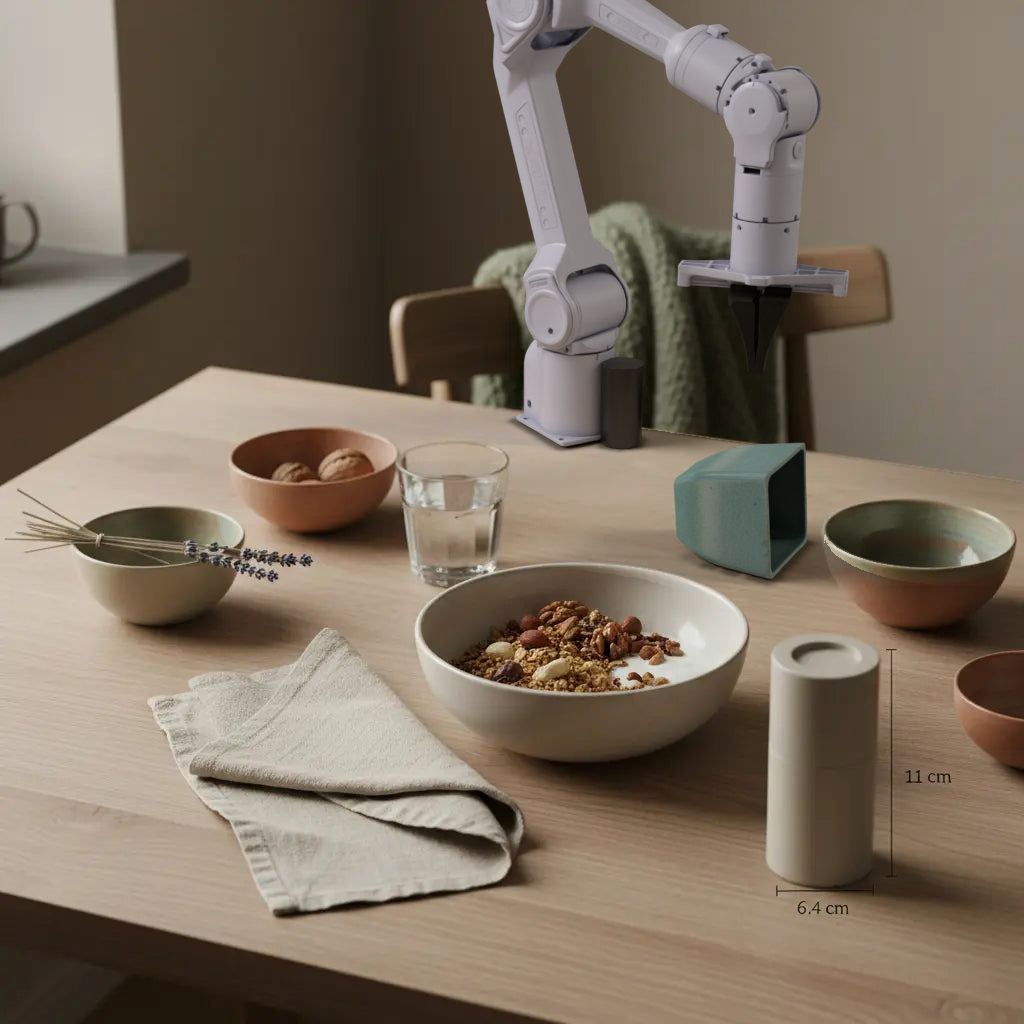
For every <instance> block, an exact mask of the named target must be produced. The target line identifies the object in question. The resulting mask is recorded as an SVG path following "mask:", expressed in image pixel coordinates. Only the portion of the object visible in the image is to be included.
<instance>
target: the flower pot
mask: <svg viewBox="0 0 1024 1024" xmlns="http://www.w3.org/2000/svg"><path fill="white" fill-rule="evenodd" d="M807 490H808V489H807V449H806V443H805V442H790V443H789V442H787V443H759V444H748V445H747V444H745V445H740V446H736V447H732V448H728V449H725V450H724V449H723V450H721V451H718V452H715V453H713V454H711V455H709V456H707V457H704V458H702V459H700V460H698V461H697V462H695V463H693V465H691V466H690V467H688V469H686V470H684V471H683V472H682V473H681V474H680V475H678V476H677V477H675V479H674V481H673V501H674V517H675V518H674V519H675V520H674V521H675V535H676V538H677V539H678V540H679V541H680V542H681V543H682V544H683V545H684V546H685V547H687V549H689V550H690V551H691V552H692V553H694V554H695V555H697V556H698V557H700V558H701V559H703V560H705V561H707V562H709V563H712V564H714V565H716V566H719V567H722V568H726V569H730V570H732V571H737V572H741V573H745V574H749V575H751V576H756V577H760V578H763V579H768V580H772V579H773V578H775V577H776V576H777V574H779V573H780V572H781V570H782V569H783V568H784V566H786V564H788V562H790V560H792V558H793V557H795V555H796V554H797V553H798V552H799V551H800V550H801V549H802V548H803V547H804V546H805V545H806V543H807V541H808V500H807V499H808V496H807V495H808V493H807Z"/></svg>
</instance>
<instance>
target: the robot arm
mask: <svg viewBox="0 0 1024 1024" xmlns="http://www.w3.org/2000/svg"><path fill="white" fill-rule="evenodd" d="M486 6H487V11H488V14H489V19H490V22H491V23H490V24H491V27H492V32H493V54H492V55H493V56H492V57H493V58H492V64H493V72H494V77H495V82H496V85H497V89H498V94H499V98H500V103H501V105H502V110H503V115H504V118H505V123H506V127H507V131H508V135H509V139H510V143H511V148H512V151H513V155H514V160H515V165H516V168H517V172H518V176H519V181H520V185H521V190H522V193H523V197H524V201H525V206H526V209H527V213H528V219H529V223H530V227H531V231H532V234H533V238H534V239H533V240H534V244H535V248H536V250H537V251H536V253H535V255H534V257H533V259H532V260H531V262H530V264H529V266H528V267H527V269H526V270H525V272H524V274H523V277H522V280H523V284H524V290H525V304H524V319H525V324H526V326H527V330H528V331H529V333H530V335H531V336H532V338H533V341H532V342H531V343H530V344H529V346H528V348H527V350H526V353H525V355H524V361H523V413H519V414H516V416H515V417H516V418H515V419H516V421H518V422H519V423H521V424H523V425H525V426H526V427H528V428H530V429H532V431H533V430H534V431H535V432H537V433H538V434H540V435H541V436H543V437H545V438H546V439H549V440H550V441H552V442H554V443H555V444H557V445H559V446H560V447H569V446H575V445H579V444H585V443H590V442H595V441H600V428H601V381H602V362H603V361H605V360H608V359H610V358H614V357H616V356H615V355H616V353H615V352H616V351H615V350H616V345H615V344H616V341H617V340H618V339H619V329H620V328H621V327H622V326H624V325H625V324H626V322H627V321H628V319H629V317H630V315H631V311H632V295H631V291H630V288H629V286H628V284H627V282H626V280H625V279H624V278H623V276H622V274H620V271H619V269H618V267H617V265H616V260H615V256H614V253H613V252H612V251H611V250H610V249H608V248H607V247H605V245H603V244H601V242H599V241H598V240H596V238H595V237H594V235H593V231H592V226H591V222H590V218H589V214H588V210H587V206H586V201H585V196H584V192H583V189H582V184H581V180H580V176H579V170H578V166H577V162H576V158H575V153H574V151H573V145H572V141H571V136H570V132H569V127H568V124H567V120H566V115H565V112H564V107H563V102H562V99H561V94H560V90H559V85H558V81H557V78H556V77H557V76H556V74H557V70H558V69H559V67H560V65H561V64H562V62H563V60H564V59H565V57H566V55H567V54H568V53H569V52H570V50H572V49H573V47H575V46H576V45H577V44H578V43H579V42H580V41H581V40H582V39H583V38H584V37H585V36H586V35H587V34H588V33H589V32H590V31H591V30H592V29H593V28H594V27H596V28H598V29H600V30H602V31H603V32H606V33H608V34H609V35H611V36H613V37H615V38H616V39H619V40H620V41H622V42H624V43H626V44H628V45H629V46H631V47H633V48H635V49H637V51H640V52H642V53H644V54H646V55H647V56H649V57H651V58H653V59H655V60H656V61H658V62H660V63H662V64H664V65H665V74H666V78H667V80H668V81H667V82H668V83H669V84H670V85H671V86H672V87H673V88H675V89H677V90H678V91H680V92H682V93H683V94H685V95H686V96H688V97H690V98H691V99H693V100H694V101H696V102H697V103H699V104H700V105H702V106H703V107H705V108H706V109H708V110H710V111H711V112H713V113H715V114H716V115H718V116H719V117H721V118H722V119H724V123H725V126H726V129H727V131H728V133H729V134H730V136H731V138H732V141H733V158H735V164H734V165H735V166H734V167H735V169H734V183H733V184H734V185H733V203H732V217H731V219H732V222H731V238H730V239H731V240H730V254H729V255H730V258H729V259H713V260H712V259H711V260H710V259H709V260H703V259H701V260H696V259H695V260H693V259H682V260H681V261H680V262H679V263H678V266H677V287H683V288H689V287H691V286H699V287H713V288H714V287H715V288H729V294H728V297H727V302H728V305H729V309H730V310H731V312H732V315H733V317H734V319H735V322H736V324H737V327H738V330H739V332H740V336H741V339H742V343H743V347H744V352H745V358H746V366H747V370H746V371H747V373H758V374H763V373H764V372H765V370H766V367H767V363H768V355H769V351H770V348H771V344H772V343H773V339H774V336H775V333H776V331H777V328H778V326H779V324H780V322H781V319H782V318H783V315H784V314H785V312H786V310H787V309H788V307H789V304H790V303H791V300H792V298H793V296H794V294H795V293H806V294H821V295H822V294H823V295H832V296H833V297H836V298H846V297H847V295H848V289H849V278H850V270H849V269H838V268H829V267H822V266H817V265H816V266H815V265H811V264H810V265H809V264H802V263H798V254H799V240H800V239H799V237H800V228H801V227H800V225H801V214H802V213H801V212H802V200H803V185H804V171H805V155H806V141H807V133H809V132H810V131H811V130H812V129H813V128H814V127H815V125H816V123H817V122H818V120H819V118H820V115H821V111H822V97H821V93H820V92H821V91H820V89H819V87H818V85H817V84H816V82H815V80H814V79H813V78H812V77H811V76H810V75H809V74H807V73H806V72H805V70H804V69H803V68H802V67H800V66H793V65H789V66H783V67H782V66H781V67H780V68H775V66H774V65H773V64H772V61H773V60H772V57H771V56H769V55H767V54H765V53H764V52H763V53H757V54H756V53H754V52H752V51H751V50H749V49H748V48H746V47H745V46H743V45H742V44H740V43H738V42H736V41H734V40H733V39H731V38H729V34H730V29H729V28H727V27H725V26H724V25H722V24H720V23H715V24H710V25H708V24H703V23H702V24H697V25H694V26H692V27H689V28H688V29H687V28H685V27H684V26H683V25H681V24H680V23H678V22H677V21H676V20H674V19H673V18H671V17H670V16H669V15H667V14H666V13H664V12H662V11H661V10H660V9H659V8H657V7H656V6H654V5H653V4H651V3H650V2H648V1H647V0H486ZM573 273H574V274H575V275H574V276H570V277H569V275H571V274H573Z"/></svg>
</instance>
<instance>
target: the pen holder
mask: <svg viewBox="0 0 1024 1024" xmlns="http://www.w3.org/2000/svg"><path fill="white" fill-rule="evenodd" d="M644 369H645V363H644V361H642V360H641V359H639V358H635V357H630V356H629V357H628V356H615V357H614V358H610V359H608V360H605V361H603V362H602V381H601V428H600V440H599V442H600V444H601V445H603V446H604V447H607V448H611V449H620V450H622V449H632V448H636V447H638V446H640V445H641V444H642V435H643V434H642V433H643V431H642V430H643V404H644V403H643V400H644V399H643V398H644V396H643V395H644V374H645V373H644V371H645V370H644Z"/></svg>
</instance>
